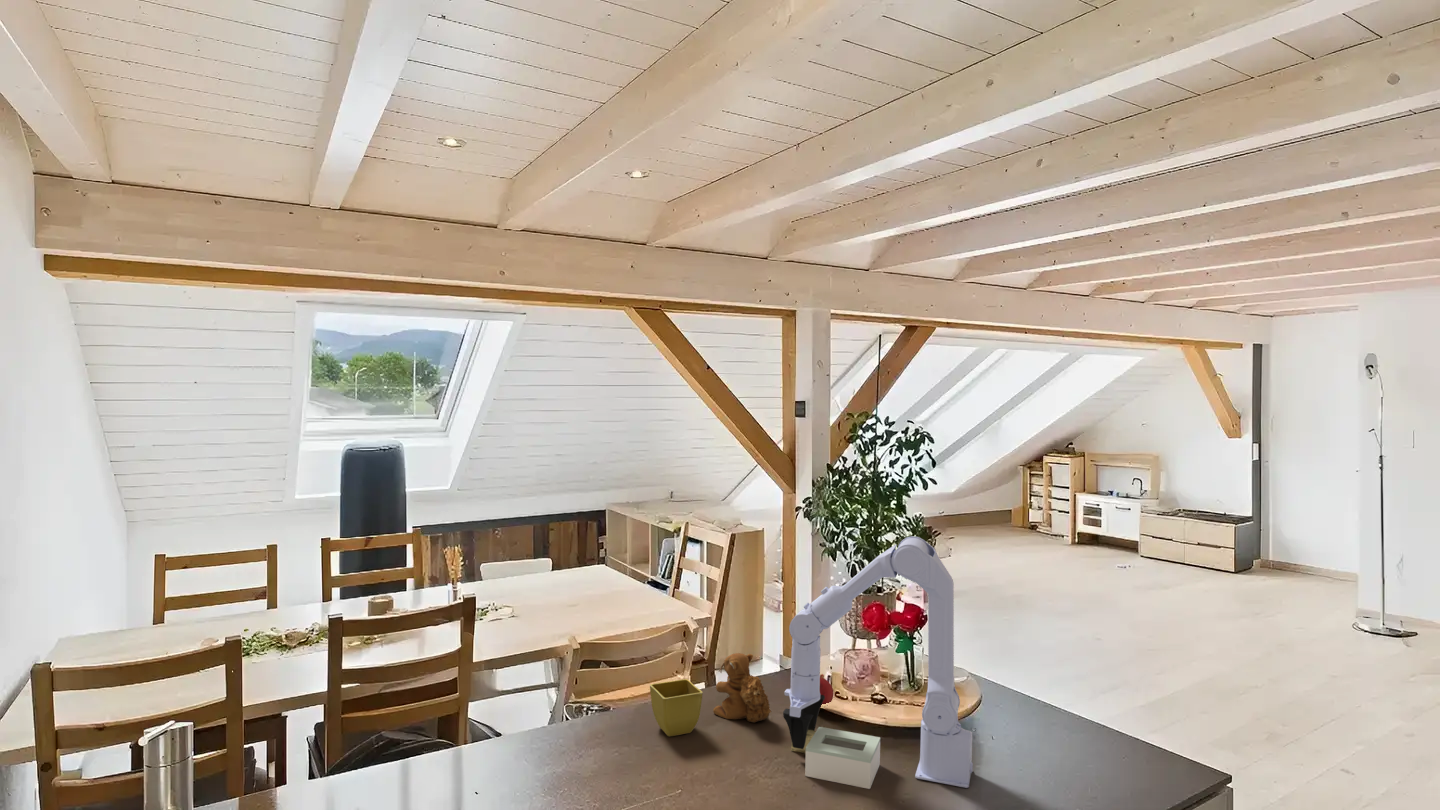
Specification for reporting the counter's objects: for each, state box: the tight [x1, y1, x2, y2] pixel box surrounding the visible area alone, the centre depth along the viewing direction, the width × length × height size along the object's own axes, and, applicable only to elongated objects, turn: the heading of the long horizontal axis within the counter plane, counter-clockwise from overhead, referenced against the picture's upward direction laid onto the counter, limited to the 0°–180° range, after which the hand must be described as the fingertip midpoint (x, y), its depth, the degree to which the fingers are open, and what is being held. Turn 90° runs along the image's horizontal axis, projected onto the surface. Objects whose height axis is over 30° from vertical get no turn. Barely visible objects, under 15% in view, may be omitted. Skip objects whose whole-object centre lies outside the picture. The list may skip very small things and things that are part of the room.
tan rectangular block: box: [790, 730, 817, 754], centre depth 159 cm, size 4×2×4 cm, turn 69°
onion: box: [820, 673, 834, 704], centre depth 179 cm, size 6×6×8 cm
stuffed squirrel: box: [712, 652, 772, 723], centre depth 175 cm, size 10×14×13 cm
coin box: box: [804, 726, 881, 790], centre depth 151 cm, size 12×10×5 cm
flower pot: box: [649, 678, 704, 737], centre depth 167 cm, size 9×9×9 cm
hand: (803, 739), depth 159 cm, fingers open, 7 cm apart
